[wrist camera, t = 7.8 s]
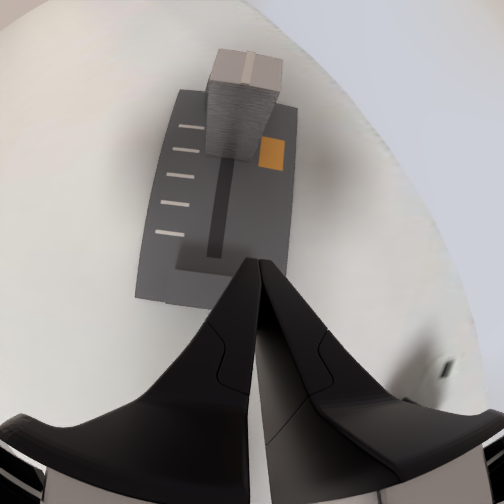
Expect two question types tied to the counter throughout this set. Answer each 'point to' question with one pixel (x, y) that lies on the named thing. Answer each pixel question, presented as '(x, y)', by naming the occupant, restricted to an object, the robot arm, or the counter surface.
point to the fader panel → (214, 207)
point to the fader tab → (240, 102)
